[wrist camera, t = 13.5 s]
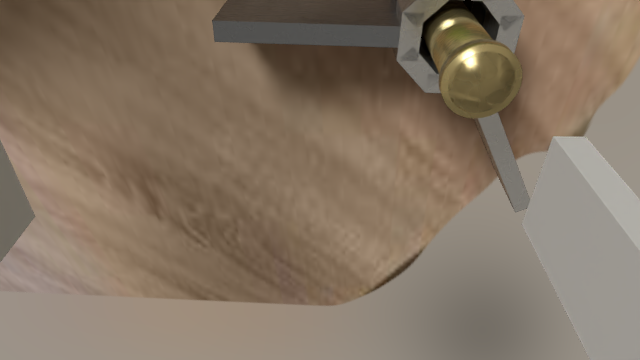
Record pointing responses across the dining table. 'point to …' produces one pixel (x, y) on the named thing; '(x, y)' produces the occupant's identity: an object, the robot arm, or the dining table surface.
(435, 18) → the pin
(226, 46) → the dining table surface
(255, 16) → the hinge
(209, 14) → the dining table surface
